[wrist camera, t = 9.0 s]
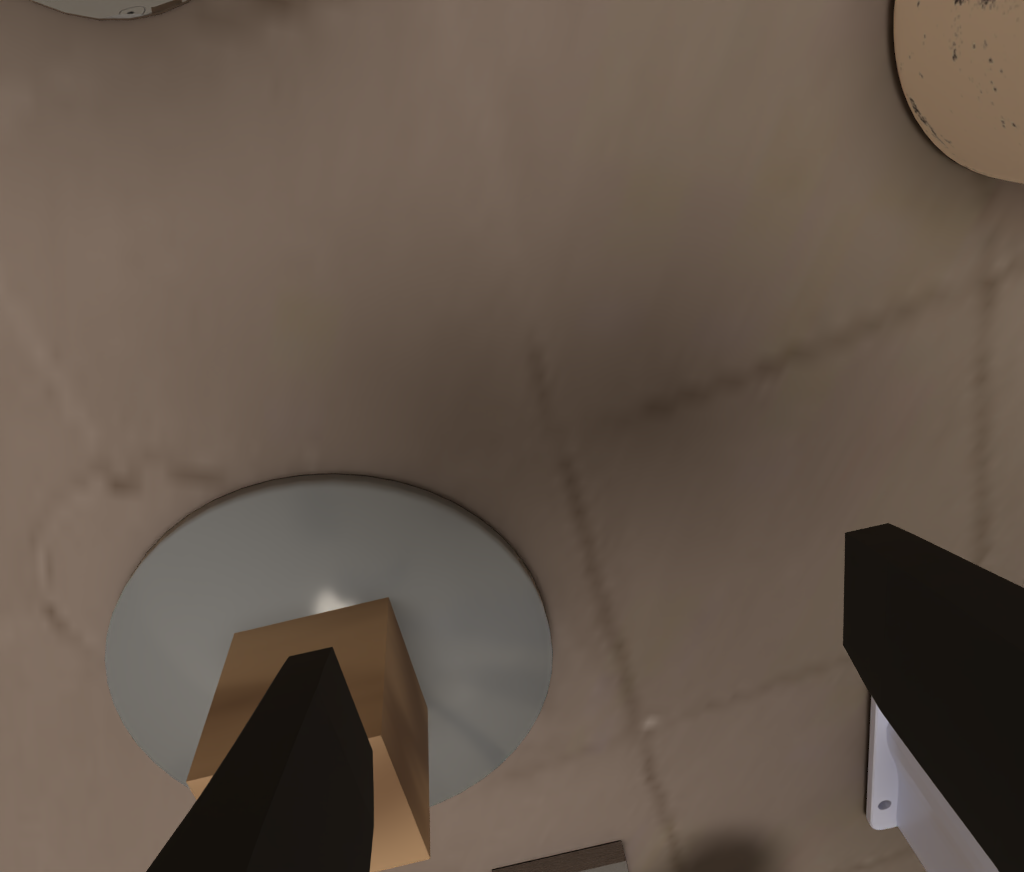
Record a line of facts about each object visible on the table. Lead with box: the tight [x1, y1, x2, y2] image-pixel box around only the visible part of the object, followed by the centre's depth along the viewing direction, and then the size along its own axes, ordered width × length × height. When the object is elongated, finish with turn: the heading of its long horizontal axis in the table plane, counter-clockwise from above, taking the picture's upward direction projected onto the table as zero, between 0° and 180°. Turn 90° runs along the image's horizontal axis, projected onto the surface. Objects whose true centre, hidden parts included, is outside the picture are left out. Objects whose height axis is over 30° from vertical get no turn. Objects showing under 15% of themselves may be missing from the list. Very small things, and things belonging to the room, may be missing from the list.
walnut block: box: [186, 597, 430, 872], centre depth 20 cm, size 4×4×5 cm
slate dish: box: [105, 474, 553, 807], centre depth 23 cm, size 13×13×1 cm
